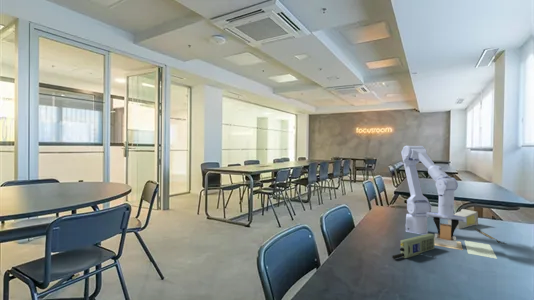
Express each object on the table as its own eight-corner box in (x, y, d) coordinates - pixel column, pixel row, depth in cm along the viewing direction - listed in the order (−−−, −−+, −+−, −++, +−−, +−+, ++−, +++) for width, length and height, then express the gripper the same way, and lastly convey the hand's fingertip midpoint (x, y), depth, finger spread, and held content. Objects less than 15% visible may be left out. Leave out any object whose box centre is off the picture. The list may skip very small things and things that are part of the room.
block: (459, 229, 142) (459, 214, 142) (443, 225, 149) (443, 211, 149) (478, 225, 151) (478, 211, 151) (462, 221, 158) (462, 208, 158)
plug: (439, 243, 119) (440, 225, 119) (439, 240, 122) (440, 223, 122) (450, 245, 117) (451, 226, 117) (450, 242, 120) (450, 224, 120)
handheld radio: (436, 250, 113) (397, 262, 101) (428, 248, 115) (389, 259, 103) (435, 234, 113) (397, 244, 101) (428, 232, 116) (389, 241, 104)
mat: (467, 254, 108) (468, 253, 108) (464, 241, 123) (464, 240, 123) (497, 260, 103) (497, 258, 103) (489, 245, 118) (489, 244, 118)
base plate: (428, 245, 118) (428, 244, 118) (429, 237, 128) (429, 236, 128) (462, 251, 111) (462, 250, 111) (460, 243, 121) (460, 241, 121)
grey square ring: (434, 243, 118) (434, 238, 118) (434, 238, 125) (434, 233, 125) (456, 247, 114) (456, 241, 114) (455, 242, 121) (455, 236, 121)
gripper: (426, 204, 120) (426, 234, 120) (467, 208, 112) (466, 241, 112) (427, 201, 126) (426, 230, 126) (465, 205, 118) (464, 236, 118)
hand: (445, 235), depth 120 cm, fingers closed on plug, 4 cm apart
